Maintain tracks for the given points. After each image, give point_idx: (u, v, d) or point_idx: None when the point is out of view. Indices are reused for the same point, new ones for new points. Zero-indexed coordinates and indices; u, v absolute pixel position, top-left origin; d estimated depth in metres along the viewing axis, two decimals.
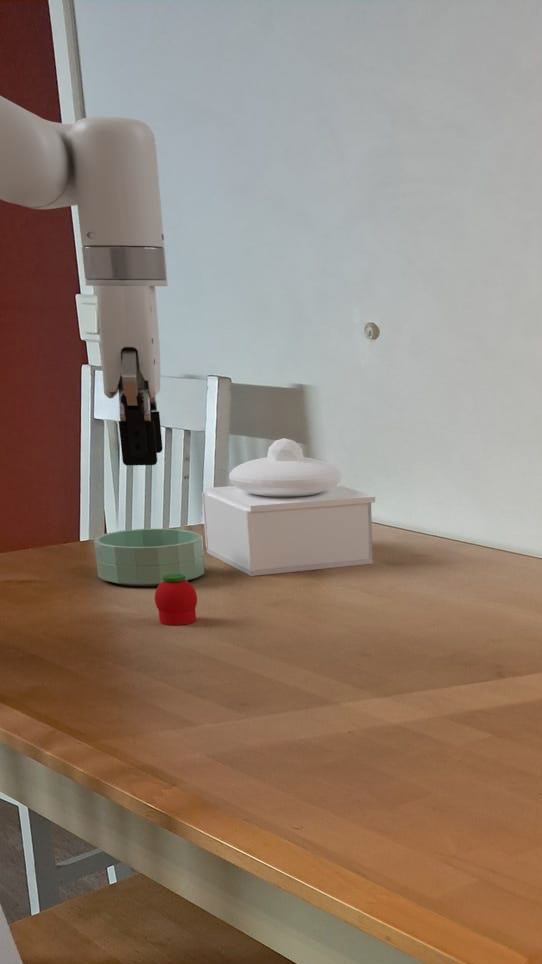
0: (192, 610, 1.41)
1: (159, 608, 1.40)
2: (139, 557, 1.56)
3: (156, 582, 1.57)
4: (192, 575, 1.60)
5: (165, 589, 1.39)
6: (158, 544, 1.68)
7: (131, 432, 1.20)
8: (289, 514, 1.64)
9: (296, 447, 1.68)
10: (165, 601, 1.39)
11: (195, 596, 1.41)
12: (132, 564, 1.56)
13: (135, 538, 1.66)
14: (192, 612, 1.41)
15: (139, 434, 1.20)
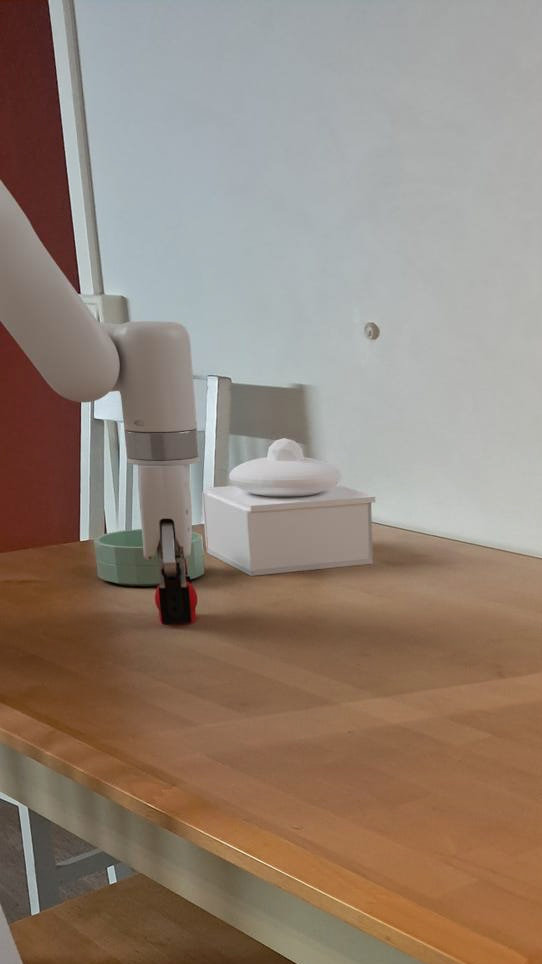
0: (192, 610, 1.41)
1: (159, 608, 1.40)
2: (139, 557, 1.56)
3: (156, 582, 1.57)
4: (192, 575, 1.60)
5: None
6: None
7: (169, 597, 1.38)
8: (289, 514, 1.64)
9: (296, 447, 1.68)
10: None
11: (195, 596, 1.41)
12: (132, 564, 1.56)
13: (135, 538, 1.66)
14: (192, 612, 1.41)
15: (176, 599, 1.38)
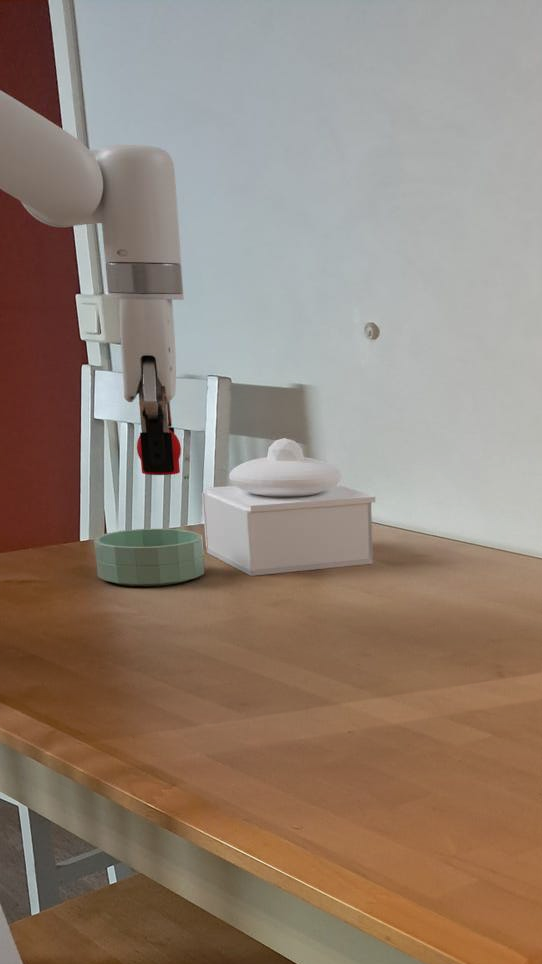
0: (175, 460, 1.36)
1: (141, 457, 1.36)
2: (139, 557, 1.56)
3: (156, 582, 1.57)
4: (192, 575, 1.60)
5: None
6: (158, 544, 1.68)
7: (151, 443, 1.33)
8: (289, 514, 1.64)
9: (296, 447, 1.68)
10: None
11: (179, 446, 1.36)
12: (132, 564, 1.56)
13: (135, 538, 1.66)
14: (175, 463, 1.36)
15: (158, 444, 1.33)
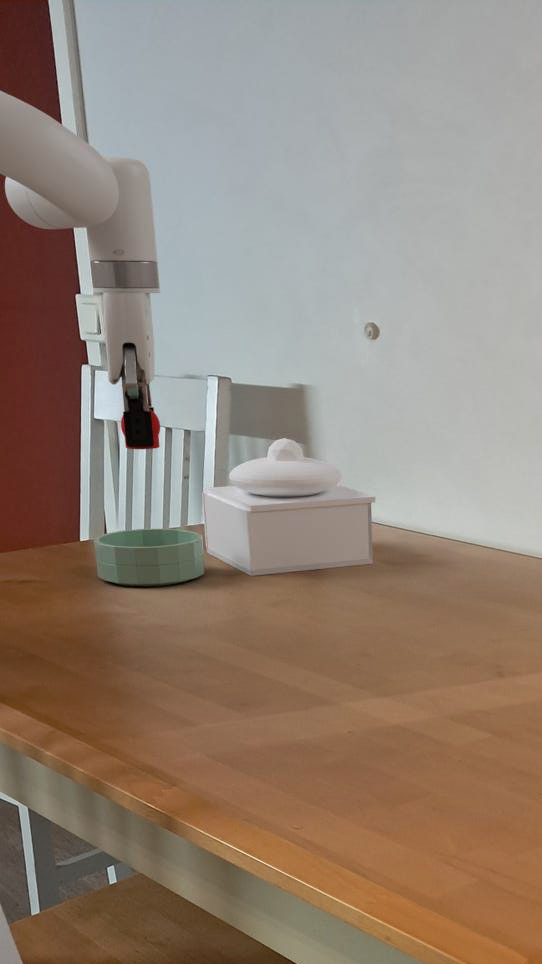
0: (155, 436, 1.54)
1: None
2: (139, 557, 1.56)
3: (156, 582, 1.57)
4: (192, 575, 1.60)
5: None
6: (158, 544, 1.68)
7: (133, 420, 1.50)
8: (289, 514, 1.64)
9: (296, 447, 1.68)
10: None
11: (158, 423, 1.53)
12: (132, 564, 1.56)
13: (135, 538, 1.66)
14: (155, 438, 1.54)
15: (139, 422, 1.50)
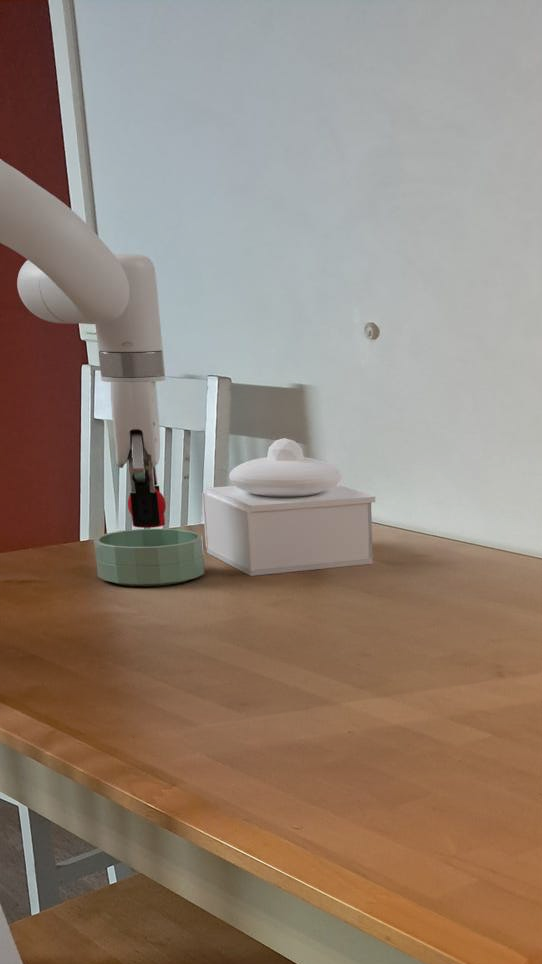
0: (161, 515, 1.60)
1: None
2: (139, 557, 1.56)
3: (156, 582, 1.57)
4: (192, 575, 1.60)
5: None
6: (158, 544, 1.68)
7: (140, 501, 1.56)
8: (289, 514, 1.64)
9: (296, 447, 1.68)
10: None
11: (164, 502, 1.59)
12: (132, 564, 1.56)
13: (135, 538, 1.66)
14: (161, 516, 1.60)
15: (146, 503, 1.56)
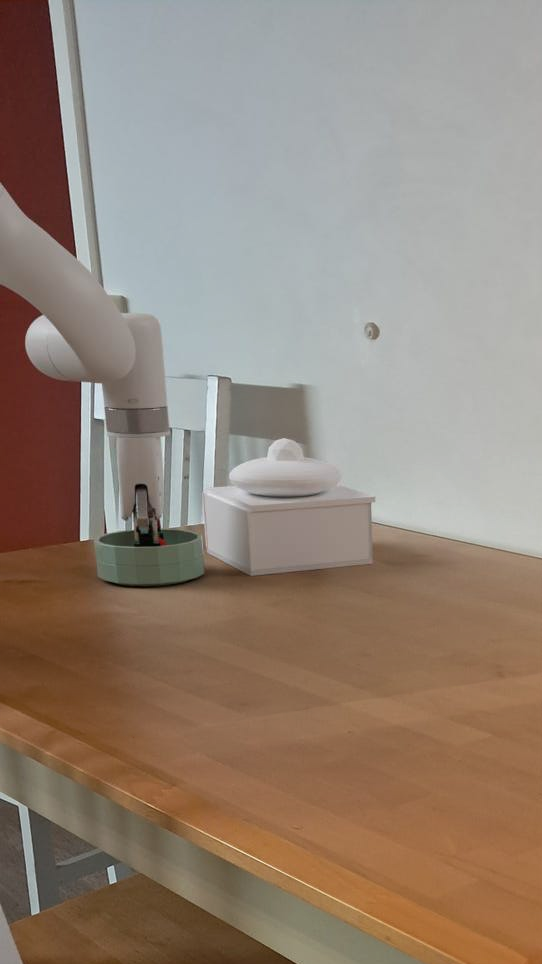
0: None
1: None
2: (139, 557, 1.56)
3: (156, 582, 1.57)
4: (192, 575, 1.60)
5: None
6: None
7: None
8: (289, 514, 1.64)
9: (296, 447, 1.68)
10: None
11: None
12: (132, 564, 1.56)
13: None
14: None
15: None
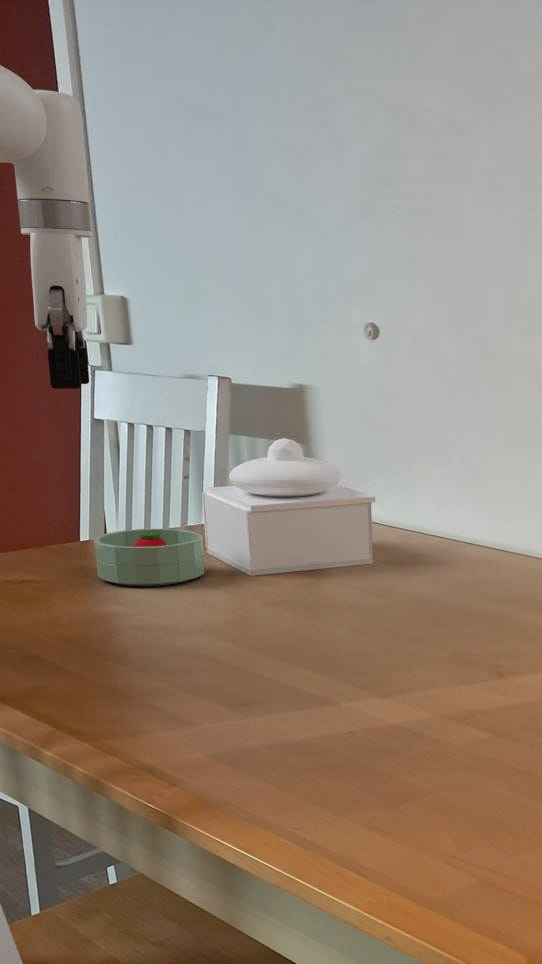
0: None
1: None
2: (139, 557, 1.56)
3: (156, 582, 1.57)
4: (192, 575, 1.60)
5: (141, 545, 1.60)
6: None
7: (58, 359, 1.41)
8: (289, 514, 1.64)
9: (296, 447, 1.68)
10: None
11: None
12: (132, 564, 1.56)
13: (135, 538, 1.66)
14: None
15: (65, 361, 1.41)
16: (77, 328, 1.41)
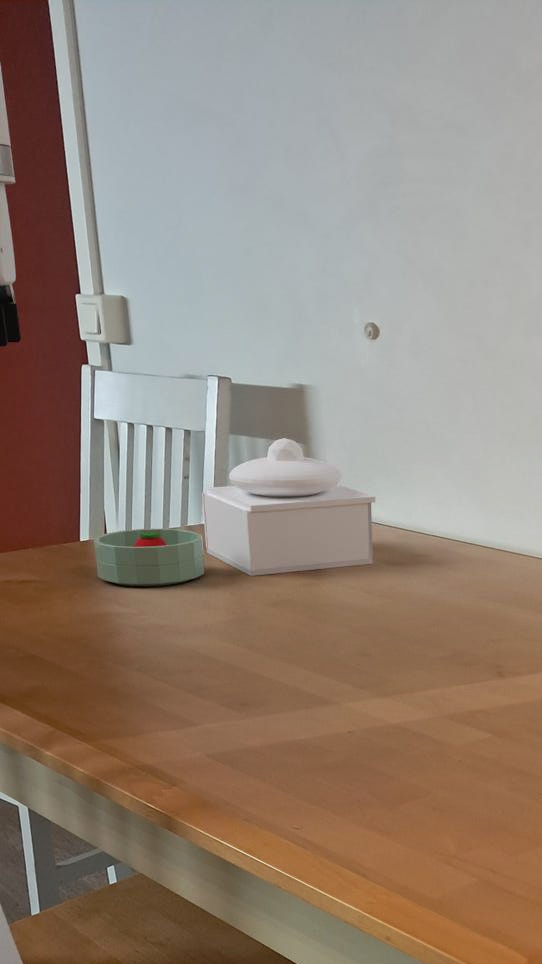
0: None
1: None
2: (139, 557, 1.56)
3: (156, 582, 1.57)
4: (192, 575, 1.60)
5: (141, 545, 1.60)
6: None
7: None
8: (289, 514, 1.64)
9: (296, 447, 1.68)
10: None
11: None
12: (132, 564, 1.56)
13: (135, 538, 1.66)
14: None
15: None
16: (1, 281, 1.33)
